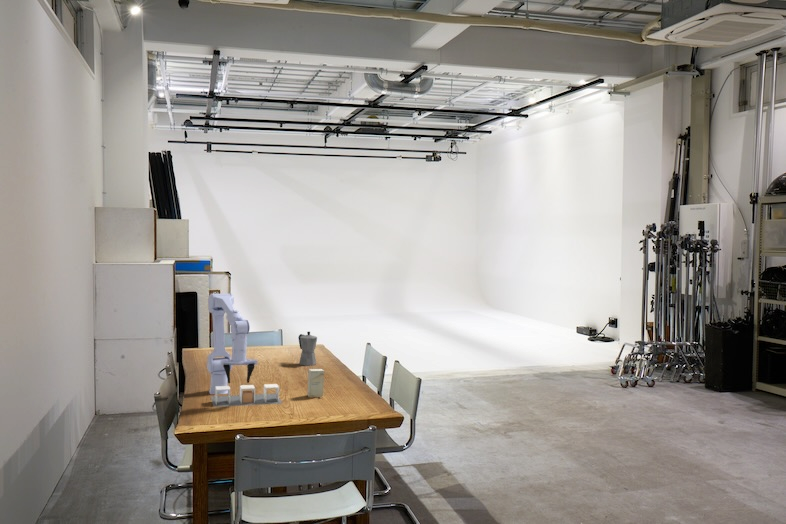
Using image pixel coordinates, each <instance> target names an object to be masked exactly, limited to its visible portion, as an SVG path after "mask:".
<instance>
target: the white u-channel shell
mask: <svg viewBox="0 0 786 524" xmlns="http://www.w3.org/2000/svg"><path fill="white" fill-rule="evenodd" d="M242 391H252V392H253V402H254V403H255V395H256V387H255V385H254V384H241V385H240V384H239V395H240V399H239V400H240V402H241V404H242Z"/></svg>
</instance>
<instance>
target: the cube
mask: <svg viewBox="0 0 786 524" xmlns="http://www.w3.org/2000/svg"><path fill="white" fill-rule="evenodd" d="M242 402H243V403H250V402H253V392H252V390H242Z"/></svg>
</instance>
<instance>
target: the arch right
mask: <svg viewBox="0 0 786 524" xmlns="http://www.w3.org/2000/svg"><path fill="white" fill-rule="evenodd" d="M269 389H275V394H276V400H277V401H278V402H279V398H280V385H278V384H277V383H265V384H263V394H264V395H263V399H264V401H265V402H266V399H267V394H268V393H267V392H268V391H267V390H269Z"/></svg>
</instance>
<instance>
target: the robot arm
mask: <svg viewBox="0 0 786 524" xmlns="http://www.w3.org/2000/svg"><path fill="white" fill-rule="evenodd" d="M234 298H235V297H234V295H233V294H232V292H229V293H228V292H227V293H210V294H209V295H208V299H207V306H208V307H207V308H208V313H210V314H211V316H212V317H211V319H212V338H213V351H211V353H209V354H208V356H207V361H206V368H207V370H206V371H207V372H208V373H209V374H210V389H208V392H209V394H210V395H215V386H228V384H230V383H231V371H232V369H233V366H246V367H247V370H246V371H247V373H246V375H247V376H246V382H247V384H248V383H250V379H251V376H252V373H253V371H254V369H255V367H256V366H257V365H258V359H249V358H248V359H247V346H248V341H247V340H248V339H247V338H248V334H249V333H250V323H249V320H247V319H244V318H243V316H242V315H241V312H240V311H239V310H237V309H235V307H234V304H235V299H234ZM225 314H226V317H224V316H225ZM225 318H226V320H227V322H228V323H229V325H230V335H231V336H230V338H231V339H232V344H231V345H232V347H231V348H232V349H231V352H232V353H231V354H230V353H229V352H228V351H226V344H225V343H226V339H225V337H226V336H225ZM226 394H227V395H228V390H227V391H217V395H226Z"/></svg>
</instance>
